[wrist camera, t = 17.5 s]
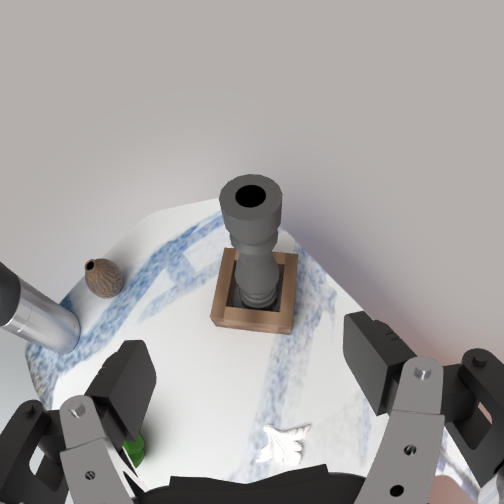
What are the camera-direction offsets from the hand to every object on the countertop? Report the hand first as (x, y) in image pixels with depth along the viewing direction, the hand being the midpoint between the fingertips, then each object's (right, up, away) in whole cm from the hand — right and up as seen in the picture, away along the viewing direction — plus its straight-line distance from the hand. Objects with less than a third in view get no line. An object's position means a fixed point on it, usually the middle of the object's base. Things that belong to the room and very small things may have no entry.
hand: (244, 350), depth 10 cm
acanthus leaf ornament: (+5, -25, +24) cm, 35 cm away
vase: (-27, -3, +38) cm, 47 cm away
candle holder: (+1, -4, +36) cm, 36 cm away
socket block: (+1, -4, +36) cm, 36 cm away
